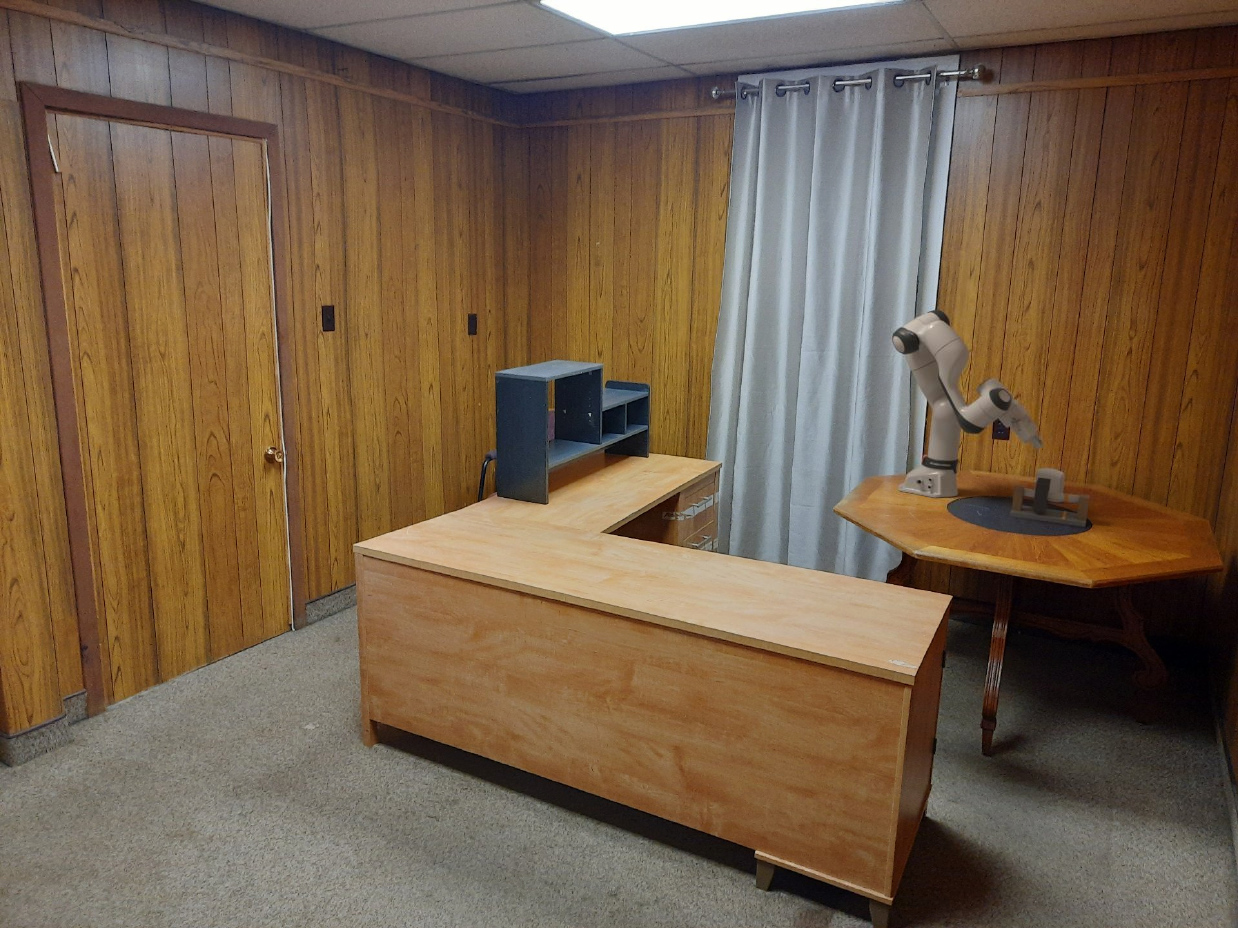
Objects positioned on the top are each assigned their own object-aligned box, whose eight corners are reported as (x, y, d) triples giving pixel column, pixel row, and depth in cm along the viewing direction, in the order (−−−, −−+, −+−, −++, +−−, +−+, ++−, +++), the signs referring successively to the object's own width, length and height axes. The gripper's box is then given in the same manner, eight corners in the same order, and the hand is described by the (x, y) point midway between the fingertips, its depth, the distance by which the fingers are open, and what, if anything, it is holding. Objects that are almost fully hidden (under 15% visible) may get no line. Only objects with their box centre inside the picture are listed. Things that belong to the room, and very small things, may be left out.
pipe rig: (1009, 516, 309) (1013, 490, 307) (1013, 508, 319) (1016, 483, 317) (1085, 527, 298) (1089, 500, 296) (1086, 518, 308) (1090, 492, 306)
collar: (1032, 510, 306) (1036, 483, 304) (1035, 503, 315) (1038, 477, 312) (1045, 512, 304) (1048, 484, 302) (1047, 505, 313) (1050, 478, 310)
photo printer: (1031, 497, 334) (1035, 467, 331) (1036, 496, 337) (1040, 465, 334) (1058, 503, 326) (1062, 472, 323) (1063, 502, 329) (1068, 470, 326)
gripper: (1018, 415, 297) (1046, 446, 295) (1024, 407, 315) (1050, 436, 312) (1003, 426, 301) (1030, 457, 298) (1009, 417, 318) (1035, 446, 315)
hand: (1040, 446), depth 305 cm, fingers open, 5 cm apart
